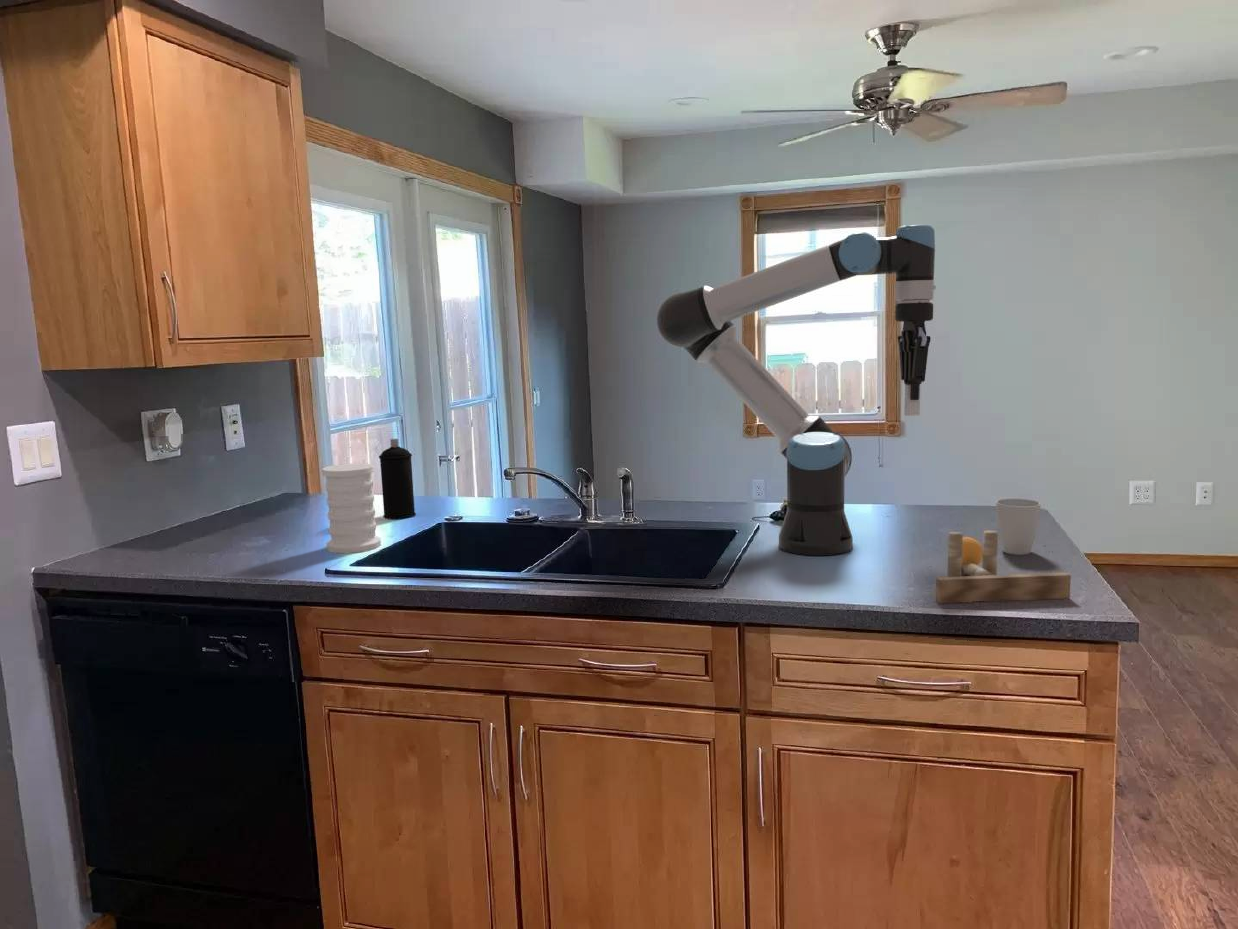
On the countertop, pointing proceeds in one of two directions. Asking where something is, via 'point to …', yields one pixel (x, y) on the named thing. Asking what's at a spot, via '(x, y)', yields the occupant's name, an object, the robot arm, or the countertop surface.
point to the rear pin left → (990, 551)
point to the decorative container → (350, 508)
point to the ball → (971, 551)
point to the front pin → (975, 570)
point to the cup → (1017, 524)
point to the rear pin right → (954, 554)
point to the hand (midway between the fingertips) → (911, 414)
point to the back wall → (1003, 587)
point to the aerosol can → (397, 482)
